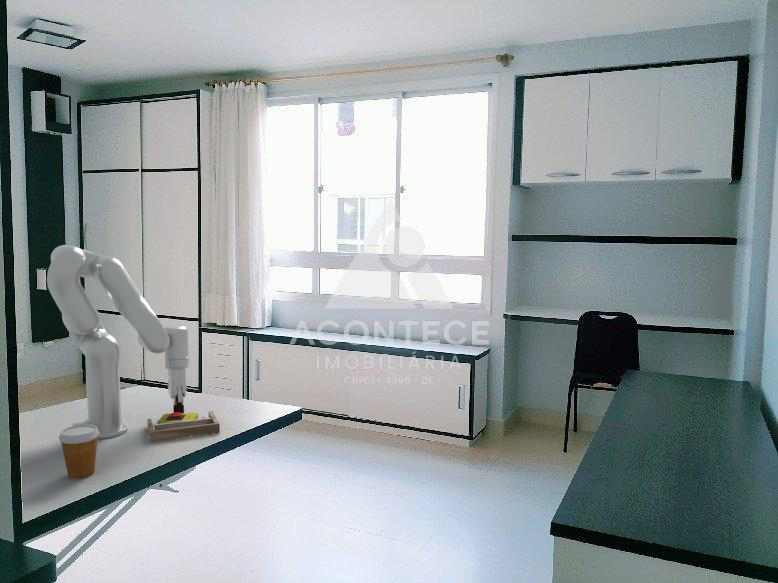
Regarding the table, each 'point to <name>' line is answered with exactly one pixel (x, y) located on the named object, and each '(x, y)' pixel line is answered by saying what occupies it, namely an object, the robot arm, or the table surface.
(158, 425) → the catch plate
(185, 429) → the dock
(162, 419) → the emergency button
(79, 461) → the disposable coffee cup
